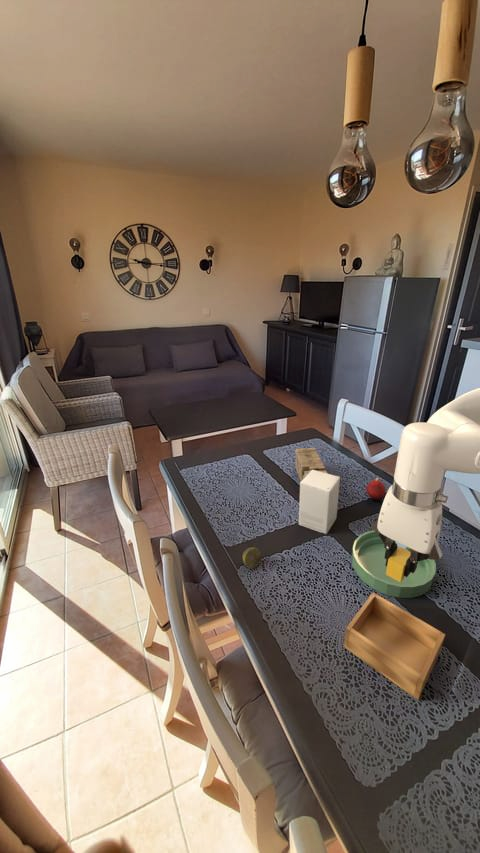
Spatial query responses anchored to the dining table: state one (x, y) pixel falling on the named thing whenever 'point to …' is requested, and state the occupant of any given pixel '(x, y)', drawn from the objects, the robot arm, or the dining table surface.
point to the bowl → (373, 569)
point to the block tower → (308, 462)
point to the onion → (375, 489)
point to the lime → (251, 557)
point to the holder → (394, 643)
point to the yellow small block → (397, 564)
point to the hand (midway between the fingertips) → (399, 566)
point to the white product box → (318, 501)
